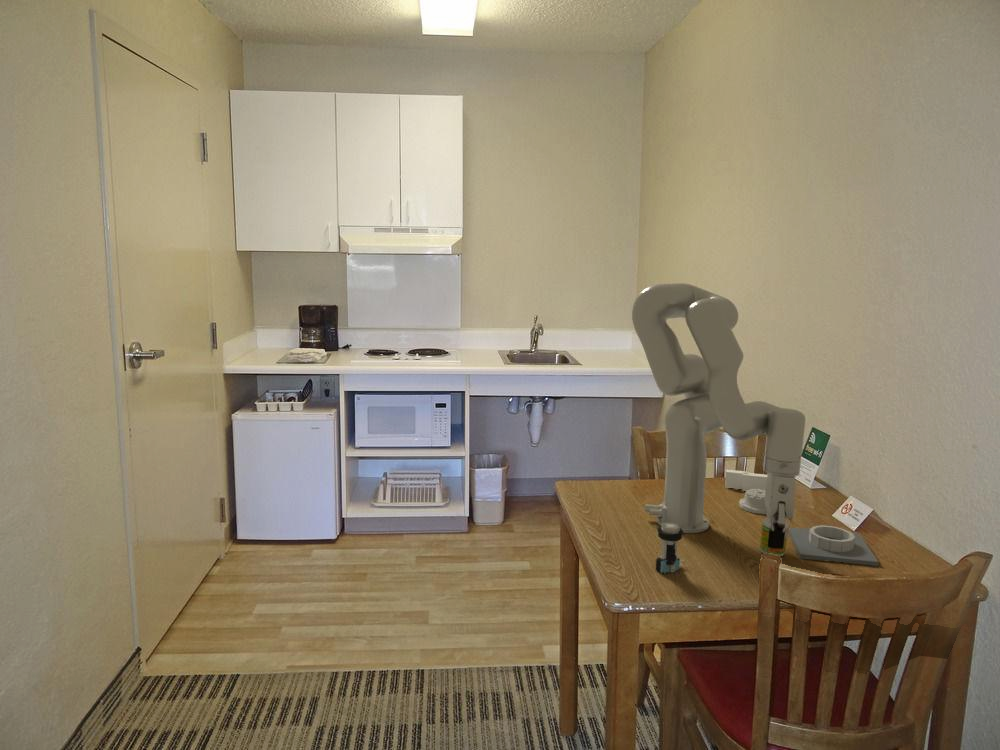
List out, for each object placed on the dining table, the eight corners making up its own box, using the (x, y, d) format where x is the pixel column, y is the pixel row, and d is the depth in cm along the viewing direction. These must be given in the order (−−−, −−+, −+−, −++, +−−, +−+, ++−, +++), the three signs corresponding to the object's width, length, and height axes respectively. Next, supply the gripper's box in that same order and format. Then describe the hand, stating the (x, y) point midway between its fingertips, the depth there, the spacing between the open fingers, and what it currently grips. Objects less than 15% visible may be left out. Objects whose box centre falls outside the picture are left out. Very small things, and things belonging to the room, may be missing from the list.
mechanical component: (746, 515, 186) (785, 515, 186) (748, 499, 185) (786, 499, 186) (733, 501, 196) (770, 502, 196) (734, 486, 195) (771, 486, 195)
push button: (674, 561, 158) (676, 518, 156) (691, 571, 153) (694, 526, 151) (650, 567, 155) (652, 523, 153) (666, 577, 150) (669, 532, 148)
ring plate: (799, 558, 160) (801, 543, 160) (788, 531, 176) (789, 517, 175) (878, 566, 157) (879, 551, 156) (859, 537, 172) (860, 523, 171)
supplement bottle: (755, 551, 163) (759, 510, 161) (766, 544, 166) (770, 504, 165) (778, 559, 159) (783, 517, 157) (789, 552, 163) (793, 511, 161)
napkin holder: (779, 494, 203) (781, 475, 202) (754, 502, 197) (755, 482, 196) (735, 480, 215) (737, 461, 214) (710, 486, 209) (711, 467, 208)
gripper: (807, 479, 150) (797, 560, 153) (793, 455, 166) (785, 529, 170) (769, 475, 151) (760, 556, 155) (759, 452, 168) (751, 525, 171)
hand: (773, 541), depth 162 cm, fingers closed on supplement bottle, 5 cm apart
